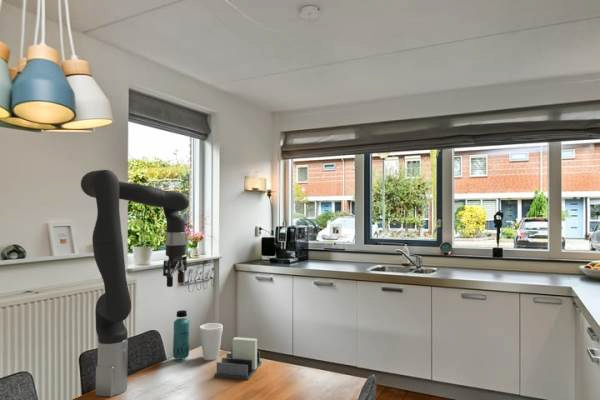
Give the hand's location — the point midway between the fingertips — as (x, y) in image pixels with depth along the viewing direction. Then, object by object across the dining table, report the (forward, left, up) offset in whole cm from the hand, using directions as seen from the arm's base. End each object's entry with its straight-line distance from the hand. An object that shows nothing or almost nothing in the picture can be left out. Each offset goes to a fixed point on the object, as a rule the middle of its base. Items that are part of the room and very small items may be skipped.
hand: (175, 284), depth 162 cm
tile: (+2, -28, -31) cm, 42 cm away
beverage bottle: (+7, +1, -32) cm, 33 cm away
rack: (+2, -26, -32) cm, 41 cm away
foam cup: (+12, -10, -32) cm, 36 cm away
